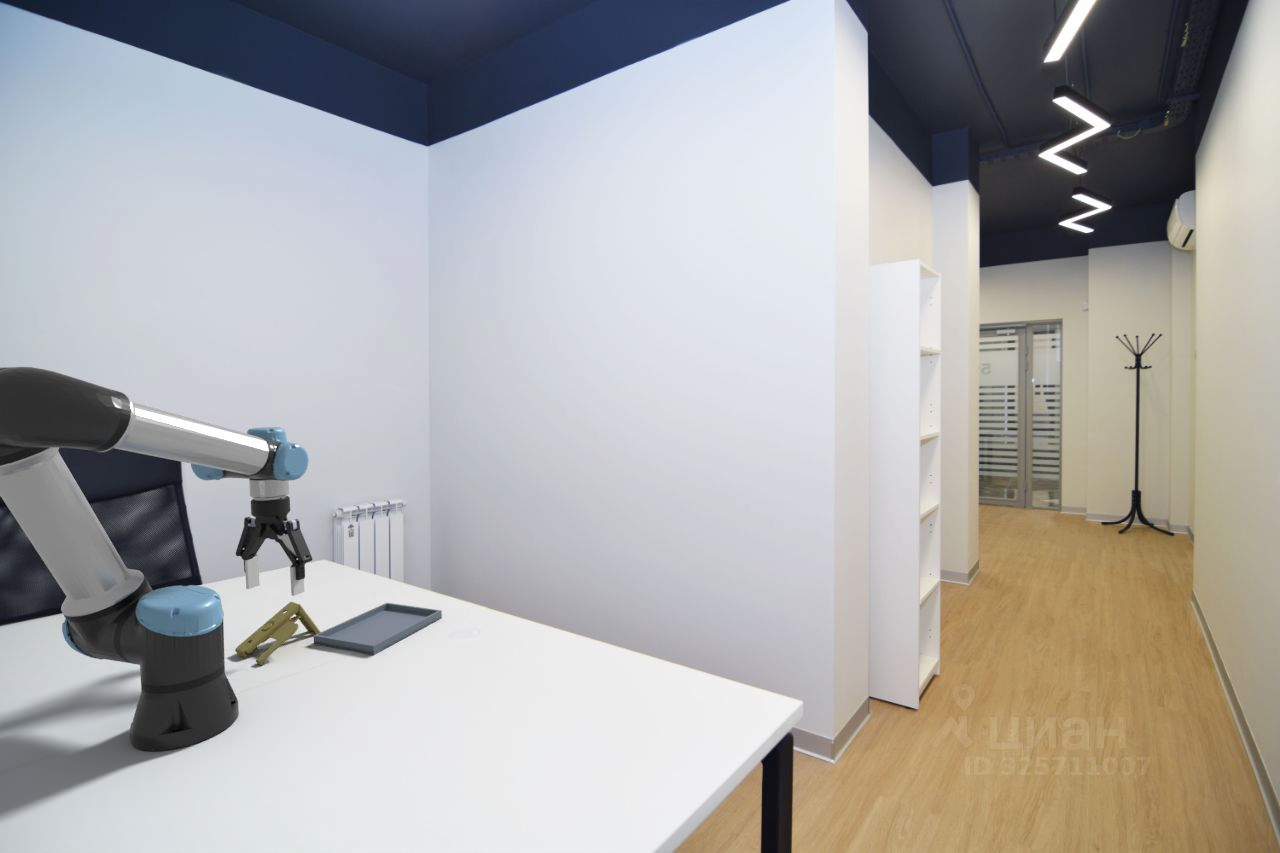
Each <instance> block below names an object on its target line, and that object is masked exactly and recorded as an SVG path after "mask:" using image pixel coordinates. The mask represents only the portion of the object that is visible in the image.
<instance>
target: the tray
mask: <svg viewBox="0 0 1280 853" xmlns="http://www.w3.org/2000/svg"><path fill="white" fill-rule="evenodd" d="M442 613H443V612H442V610H441V609H434V608H427V607H419V606H413V605H405V604H399V603H393V602H385V603H383V604H381V605H378V606H376V607H374V608H371V609H369V610H367V611H364V612H363V613H360V614H359V615H356V616H354V617H352V618H350V619H347V620H345V621H343V622H341V623H338V624H337V625H335V626H332V627H330V628H328V629H325V630H323V631H320V632H321V633H318V634H316V633H315V635H314V634H313V645H316V646H322V647H327V648H334V649H337V650H345V651H350V652H355V653H361V654H367V655H370V656H371V655H372V656H374V655H375V656H376V655H377V654H379V653H380V652H383V651H384V650H386V649H387V648H390V647H391V646H394V645H395V644H398V643H399V642H400V641H403V640H404V639H406V638H408V637H410V636H412V635H413V634H416V633H417V632H419V631H421V630H423V629H425V628H427V627H428V626H430V625H432V624H434V623H436V622H437V621H439V620H441V619H442V618H443V617H442V616H443V614H442Z"/></svg>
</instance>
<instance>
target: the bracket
mask: <svg viewBox="0 0 1280 853" xmlns="http://www.w3.org/2000/svg"><path fill="white" fill-rule="evenodd" d="M294 615H295V616H294ZM298 620H299V621H300V623H301V624H302V626H304V628H305V629H306V631H307V632H314V633H315V635H316V634H318V633H321V632H322V631H321V630H320V629H319V628H318V626H317V625H316V624H315V623H314V621H313V619H312V618H311V617H310V616H309V614H308V613H307V611H305V608H303V606H302V605H301V604H300V603H297V602H293V601H290V602H289V603H287V604H286V605H285V606H283V607H282V608H281V609H280V610H279V611H278V612H277V613H275V614H274V615H273V616H272V617H271V618H269V619H268V620H267V621H266V622H265V623H263V625H261V626H260V627H258V628H257V629H256V630H255V631H254V632H253V633H251V635H249V636H248V637H247V638H246V639H245V640H243V642H241V643H240V644H239V645H238V646H237V647H235V650H234V652H236V653H237V655H238V656H240V657H243V658H244V659H248V656H247V654H252V653H254V652H256V651H258V650H259V647H258V646H259V645H261V644H263V643H265V642H267V641H268V640H269V639H274V640H275V642H274V643H273V644H272V645H271V646H269V647H268V649H267V650H265V651H264V652H263V653H262V654H260V656H258V657H257V658H256V660H255V662H256V664H257V665H259V666H260V667H261V666H264V664H263V662H264V661H265V660H266V659H267V658H268V657H270V656H271V655H272V654H273V652H275V651H276V650H277V649H278V648H280V647H281V646H282V645H283V644H284V643H286V642H287V641H288V640H289V639H290V638H291V637H292V636H293V635H294V634H296V632H297V631H298V629H299V624H298V623H296V622H297V621H298Z"/></svg>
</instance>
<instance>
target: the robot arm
mask: <svg viewBox="0 0 1280 853" xmlns="http://www.w3.org/2000/svg"><path fill="white" fill-rule="evenodd" d="M61 448H63V449H77V450H84V451H86V450H87V451H92V452H97V453H105V452H108V451H111V450H113V449H116V450H121V451H126V452H130V453H131V452H132V453H136V454H141V455H146V456H152V457H156V458H162V459H166V460H172V461H177V462H180V463H181V462H182V463H186V464H190V467H191V470H192V472H193V474H194V475H195V476H196V477H197V478H198V479H200V480H202V481H219V480H221V479H222V480H223V479H248V480H249V481H248V482H249V496H250V497H251V498H252V499H251V500H250V514H251V516H246V517H244V519H243V529H242V533H241V535H240V538H239V541H238V545H237V548H236V550H235V556H236V557H241V559H242V561H243V570H244V571H243V572H244V573H245V587H246V589H247V590H251V589H254V588H256V587H259V586H260V585H261V584H260V570H259V569H260V568H259V557H257V556H258V551H259V550H260V549H261V547H262V546H263V544H264V542H265V541H266V540H267V539H269V540H273V541H275V543H278V544H279V546H280V547H281V548H282V550H283V552H284V553H285V555H286V556H287V558H288V559H289V561H290V562H291V565H290V566H289V572H290V574H289V576H290V594H291V596H293V597H295V596H297V595H300V594H302V593H305V577H306V567H305V565H306V563H310V562H312V561H313V556H312V554H311V551H310V548H309V547H308V544H307V542H306V540H305V536H304V535H303V532H302V530H301V525H300V524H301V523H300V520H299V519H298V518H296V519H291V520H289V519H288V514H289V513H290V511H291V499H290V496H288V494H290V484H289V483H290V482H289V481H296V480H298V479H300V478H301V477H302V476H305V475H304V474H305V473H306V472H307V470H308V466H309V463H310V462H309V461H310V460H309V459H310V458H309V454H308V451H307V450H306V448H305V447H304V446H302V445H301V444H299V443H293V442H289V441H288V440H287V433H286V430H285V429H284V428H282V427H277V426H276V427H275V426H272V427H271V426H268V427H267V426H266V427H265V426H264V427H253V428H249V429H247V431H246V432H242V431H238V430H235V429H232V428H227V427H223V426H220V425H217V424H213V423H209V422H206V421H202V420H198V419H195V418H192V417H191V418H190V417H188V416H183V415H181V414H178V413H177V414H176V413H173V412H169V411H165V410H162V409H159V408H155V407H151V406H147V405H144V404H140V403H136V402H132V400H131V398H130V396H129V395H127V394H126V393H124V392H122V391H118V390H115V389H112V388H107V387H105V386H101V385H98V384H95V383H92V382H90V381H89V382H88V381H85V380H82V379H80V378H76V377H72V376H69V375H66V374H62V373H59V372H56V371H52V370H48V369H45V368H38V367H33V366H14V367H12V366H11V367H6V366H5V367H0V498H1V499H2V500H3V502H4V503H5V505H6V507H7V508H8V510H9V511H10V513H11V515H13V517H14V519H15V521H16V523H18V525H19V527H20V528H21V529H22V531H23V533H24V534H25V536H26V537H27V539H28V540H29V542H30V543H31V544H32V546H33V547H34V550H35V551H36V552H37V554H38V555H39V556H40V559H41V560H42V561H43V563H44V564H45V566H46V568H47V569H48V570H49V572H50V574H51V576H52V577H53V578H54V579H55V581H56V583H57V584H58V585H59V587H60V589H61V591H62V592H63V594H64V595H65V598H64V600H63V603H61V607H60V611H61V613H62V614H63V617H64V622H62V624H61V626H62V627H61V628H62V629H61V632H62V635H63V638H64V641H65V642H66V643H67V645H68V646H69V647H70V648H71V649H73V651H75V652H77V653H80V654H82V655H83V656H86V657H89V658H92V659H96V660H97V659H98V660H108V661H113V662H114V661H115V662H121V663H126V664H127V663H128V664H132V665H139V670H140V672H139V673H140V686H141V692H140V696H139V699H138V703H137V704H136V709H135V712H134V714H133V719H132V722H131V723H130V727H129V739H130V740H129V741H130V744H131V746H132V747H134V748H135V749H137V750H142V751H148V752H152V751H153V752H157V751H166V750H167V751H168V750H173V749H178V748H182V747H186V746H187V747H188V746H191V745H192V744H193V745H194V744H197V743H200V742H202V741H205V740H207V739H209V738H212V737H214V736H216V735H218V734H220V733H221V732H223V731H225V730H226V729H228V728H229V727H230V726H232V725H233V724H234V722H236V720H237V719H238V717H239V701H238V698H237V696H236V693H235V691H234V689H233V688H232V685H231V683H230V680H229V679H228V677H227V675H226V665H225V638H224V637H225V634H224V633H225V632H224V627H225V626H224V616H225V615H224V614H225V613H224V610H223V604H222V600H221V596H220V594H218V592H217V591H215V589H212V588H210V587H207V586H202V585H194V584H189V585H172V586H166V587H161V588H157V589H154V590H153V588H152V587H151V585H150V584H149V581H148V579H147V578H146V577H145V575H144V573H143V572H142V571H141V570H139V569H133V568H132V569H131V568H128V567H127V566H126V565H125V563H124V561H123V559H122V558H121V555H120V554H119V553H118V551H117V549H116V547H115V546H114V543H113V542H112V541H111V539H110V538H109V535H108V534H107V532H106V530H105V528H104V527H103V525H102V524H101V522H100V519H98V517H97V515H96V514H95V512H94V509H93V508H92V507H91V505H90V503H89V501H88V500H87V497H86V496H85V495H84V494H85V493H83V491H82V490H81V488H80V485H78V483H77V480H75V478H74V476H73V474H72V472H71V471H70V469H69V467H68V466H67V464H66V462H65V461H64V459H63V457H62V455H61V454H60V452H59V449H61Z"/></svg>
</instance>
